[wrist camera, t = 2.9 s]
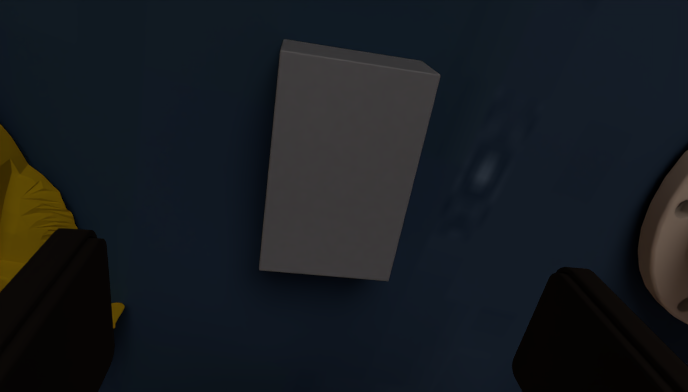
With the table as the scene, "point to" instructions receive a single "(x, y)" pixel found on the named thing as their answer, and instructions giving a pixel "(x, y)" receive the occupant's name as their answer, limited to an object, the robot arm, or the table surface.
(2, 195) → the door knocker
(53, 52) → the table surface
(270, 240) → the block
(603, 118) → the table surface
